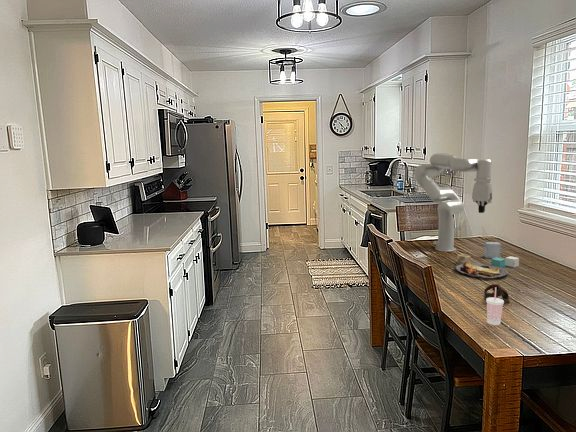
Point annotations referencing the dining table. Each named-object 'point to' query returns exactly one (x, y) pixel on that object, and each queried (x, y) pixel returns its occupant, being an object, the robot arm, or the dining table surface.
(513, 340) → the dining table surface
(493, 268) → the food plate
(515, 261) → the white block
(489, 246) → the medicine box
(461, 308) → the dining table surface
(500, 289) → the pottery mug
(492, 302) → the beverage cup
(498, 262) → the teal block
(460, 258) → the maple block
